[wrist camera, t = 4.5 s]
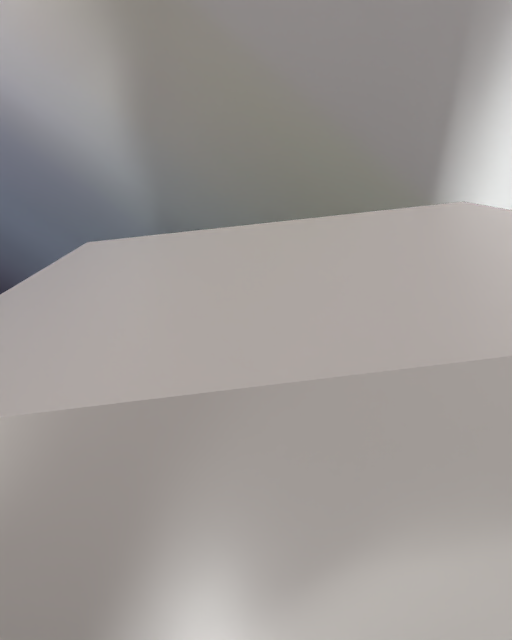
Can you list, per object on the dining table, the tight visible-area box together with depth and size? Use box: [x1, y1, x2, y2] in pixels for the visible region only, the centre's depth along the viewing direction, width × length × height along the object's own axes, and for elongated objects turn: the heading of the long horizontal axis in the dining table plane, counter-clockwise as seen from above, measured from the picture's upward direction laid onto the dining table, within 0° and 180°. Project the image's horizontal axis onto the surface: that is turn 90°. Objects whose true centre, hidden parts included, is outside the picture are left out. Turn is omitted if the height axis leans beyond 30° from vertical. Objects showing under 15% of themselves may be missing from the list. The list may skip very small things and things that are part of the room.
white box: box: [0, 202, 512, 640], centre depth 9 cm, size 10×10×9 cm
